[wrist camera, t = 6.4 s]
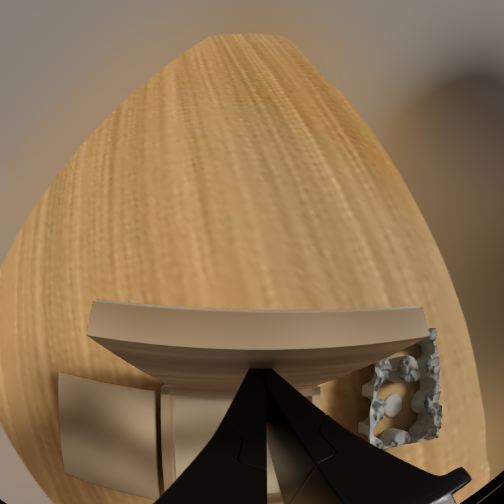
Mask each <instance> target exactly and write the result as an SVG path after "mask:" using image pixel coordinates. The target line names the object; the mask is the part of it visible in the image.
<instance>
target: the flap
mask: <svg viewBox="0 0 504 504" xmlns="http://www.w3.org/2000/svg"><path fill="white" fill-rule="evenodd" d="M87 336H89V337H90V338H91V339H93V340H94V341H96V342H97V343H99V344H100V345H102V346H103V347H105V348H106V349H108V350H109V351H111V352H112V353H114V354H115V355H117V356H118V357H120V358H122V359H123V360H125V361H126V362H128V363H130V364H131V365H133V366H135V367H136V368H138V369H140V370H142V371H143V372H145V373H147V374H149V375H150V376H152V377H154V378H156V379H158V380H159V381H161V382H163V383H165V384H167V385H177V386H189V387H204V388H228V389H239V387H240V385H241V383H242V381H243V379H244V377H245V375H246V373H247V371H248V369H267V368H272V369H273V370H275V371H276V372H277V373H278V374H279V375H280V376H281V377H282V378H284V379H285V380H286V381H287V382H288V383H289V384H290V385H292V386H293V387H307V386H317V385H319V384H322V383H325V382H328V381H331V380H333V379H336V378H339V377H342V376H344V375H347V374H349V373H352V372H354V371H357V370H359V369H362V368H364V367H366V366H369V365H371V364H373V363H376V362H378V361H380V360H382V359H385V358H387V357H389V356H391V355H393V354H395V353H397V352H399V351H401V350H403V349H405V348H407V347H409V346H411V345H413V344H415V343H417V342H419V341H421V340H423V339H425V338H427V337H428V336H429V332H428V327H427V323H426V318H425V314H424V310H423V307H421V308H419V306H407V307H391V308H372V309H345V310H243V309H216V308H196V307H179V306H164V305H151V304H140V303H129V302H118V301H109V300H100V299H97V301H93V304H92V309H91V313H90V318H89V324H88V329H87Z"/></svg>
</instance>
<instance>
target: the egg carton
mask: <svg viewBox="0 0 504 504" xmlns="http://www.w3.org/2000/svg"><path fill="white" fill-rule="evenodd" d="M435 329H436V328H428V332H429V336H428V337H427V338H425V339H423V340H421V341H419V342H417V344H418V345H420V346H421V349H422V353H421V357H419V358H417V359H416V360H415V359H414V357H412V356H409V355H408V356H401V357H395V358H392V359H391V360H389V359H388V358H385V359H382V360H380V361H378V362H376V363H373V364H374V366H375V373H374V377H373V378H372V380H371V381H369V382H368V383H366V384H363V387H362V396H364V397H367V398H368V399H370V401H371V403H372V404H371V409H370V415H369V416H368V418H366V419H365V420H364V421H361V422H359V425H358V433H363V434H365V435H366V436H367V438H368V442H369V443H371V444H373V445H375V446H376V447H378V448H380V449H384V448H389V447H397V446H399V445H404V444H410V443H416V442H422V441H426V440H430V439H434V438H438V436H439V429H440V428H441V418H442V406H441V405H440V404H439V396H440V392H441V388H440V386H439V372H440V362H439V356H438V352H437V345H436V343H435V342H434V341H435V340H436V336H437V332H436V330H435ZM387 379H388V380H389V381H391V382H413V381H417V380H420V390H418V391H417V392H416V393H415V394H414V395H413V397H412V399H411V408H412V410H413V411H414V412H417V413H418V416H417V421H416V423H415V424H413V425H412V426H411V427H410V429H409V431H408V433H407V432H406V431H403V430H399V429H394V428H389V429H387V430H385V431H384V432H382V434H381V435H380V437H379V439H378V438H376V437H375V436H374V434H373V430H374V427H375V424H376V423H377V422H379V421H380V420H381V419H383V415H384V414H385V415H386V416H387V417H394V416H395V415H397V414H398V413H399V412H400V410H401V407H402V399H401V397H400V396H399V395H398V394H391V395H389V396H388V397H387V398H386V399H385V401H384V400H383V399H380V398H376V395H377V394H378V393H379V388H380V387H382V382H385V381H386V380H387ZM376 386H378V389H376Z"/></svg>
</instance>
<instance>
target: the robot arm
mask: <svg viewBox="0 0 504 504" xmlns="http://www.w3.org/2000/svg"><path fill="white" fill-rule="evenodd" d="M267 444H268V448H269V451H270V455H271V459H272V463H273V466H274V470H275V474H276V477H277V481H278V485H279V488H280V492H281V495H282V499H283V502H284V504H456V502H455V500H454V497H453V494H454V493H456V492H457V491H458V490H460V489H461V488H463V487H464V486H465V485H466V484H468V483H469V482H470V481H471V480H472V478H471V477H470V475H469V474H468V472H467V471H466V470H465V469H464V468H463V467H459V468H457V469H455V470H453V471H451V472H449V473H448V474H445V475H442V476H437V475H433V474H430V473H428V472H426V471H424V470H422V469H420V468H417V467H415V466H413V465H411V464H409V463H407V462H405V461H403V460H401V459H399V458H397V457H395V456H393V455H391V454H389V453H387V452H386V451H384V450H382V449H380V448H378V447H376V446H375V445H373V444H371V443H369V442H367V441H366V440H364V439H362V438H360V437H359V436H357V435H355V434H354V433H352V432H350V431H349V430H347V429H346V428H344V427H343V426H341V425H340V424H339V423H337V422H336V421H335V420H333V419H332V418H331V417H329V416H328V415H326V414H325V413H324V412H323V411H321V410H320V409H319V408H318V407H317V406H315V405H314V404H313V403H312V402H311V401H309V400H308V399H307V398H306V397H305V396H303V395H302V394H301V393H300V392H299V391H297V390H296V389H295V388H294V387H293V386H292V385H290V384H289V383H288V382H287V381H286V380H285V379H284V378H282V377H281V376H280V375H279V374H278V373H277V372H276V371H275V370H273V369H272V368H267V369H248V371H247V373H246V375H245V377H244V379H243V381H242V383H241V385H240V387H239V389H238V391H237V393H236V395H235V397H234V399H233V401H232V402H231V404H230V406H229V408H228V410H227V412H226V414H225V416H224V418H223V420H222V421H221V423H220V425H219V426H218V428H217V430H216V431H215V433H214V435H213V436H212V438H211V439H210V440H209V442H208V443H207V444H206V446H205V447H204V448H203V449H202V451H201V452H200V453H199V454H198V455H197V456H196V458H195V459H194V460H193V461H192V462H191V463H190V465H189V466H188V467H187V468H186V469H185V470H184V471H183V472H182V474H181V475H180V476H179V477H178V478H177V479H176V480H175V481H174V482H173V483H172V485H171V486H170V487H169V488H168V489H167V490H166V491H165V492H164V493H163V494H162V495H161V496H160V497H159V498H158V499H157V500H156V501H155V502H154V503H153V504H267ZM0 504H6V503H5V502H3V501H2V500H0ZM460 504H504V471H502V472H501V473H500V474H499V475H498V476H496V477H495V478H494V479H493V480H491V482H489V483H488V484H486V485H485V486H484V487H482V488H481V489H480V490H478V491H477V492H476V493H474V494H473V495H472V496H470V497H469V498H467V499H466V500H464V501H463V502H461V503H460Z"/></svg>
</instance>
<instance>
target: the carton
mask: <svg viewBox="0 0 504 504" xmlns="http://www.w3.org/2000/svg"><path fill="white" fill-rule="evenodd" d="M294 388H295V389H296V390H297V391H299V392H300V393H301V394H302V395H303V396H305V397H306V398H307V399H308V400H309V401H311V402H312V403H313V404H314V405H315V406H317V407H318V408H319V409H320V387H317V386H307V387H294ZM237 391H238V389H228V388H204V387H189V386H177V385H167V384H165V385H161V444H162V465H163V479H164V491H166V490H167V489H168V488H169V487H170V486H171V485H172V483H173V482H174V481H175V480H176V479H177V478H178V477H179V476H180V475H181V474H182V472H183V471H184V470H185V469H186V468H187V467H188V466H189V465H190V463H191V462H192V461H193V460H194V459H195V458H196V456H197V455H198V454H199V453H200V452H201V451H202V449H203V448H204V447H205V446H206V444H207V443H208V442H209V440H210V439H211V438H212V436H213V435H214V433H215V431H216V430H217V428H218V426H219V425H220V423H221V421H222V420H223V418H224V416H225V414H226V412H227V410H228V408H229V406H230V404H231V402H232V401H233V399H234V397H235V395H236V393H237ZM156 394H157V391H154V390H146V389H139V388H133V387H127V386H121V385H115V384H110V383H105V382H100V381H95V380H91V379H86V378H82V377H78V376H74V375H70V374H66V373H59V379H58V406H59V428H60V440H61V450H62V458H63V465H64V471H65V474H67V475H70V476H72V477H75V478H78V479H80V480H83V481H86V482H89V483H92V484H95V485H98V486H102V487H105V488H109V489H112V490H116V491H120V492H124V493H128V494H133V495H137V496H142V497H147V498H153V499H158V498H159V497H160V496H161V493H160V482H159V469H158V451H157V417H156ZM267 504H284V502H283V499H282V495H281V492H280V488H279V485H278V481H277V477H276V474H275V470H274V466H273V463H272V459H271V455H270V451H269V448H268V444H267Z"/></svg>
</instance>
